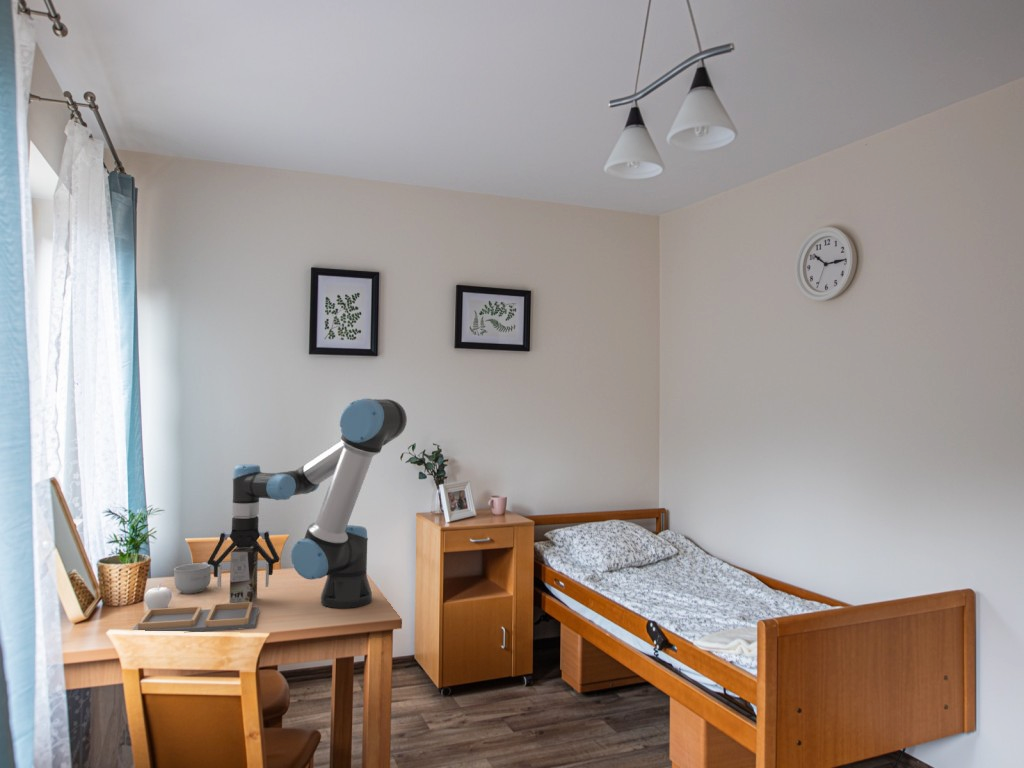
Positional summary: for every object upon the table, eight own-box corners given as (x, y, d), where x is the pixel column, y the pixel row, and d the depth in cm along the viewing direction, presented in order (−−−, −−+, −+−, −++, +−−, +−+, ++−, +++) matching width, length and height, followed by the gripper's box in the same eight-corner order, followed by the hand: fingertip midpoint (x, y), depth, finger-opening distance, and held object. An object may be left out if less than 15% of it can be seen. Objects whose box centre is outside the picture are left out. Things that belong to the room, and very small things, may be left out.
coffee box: (251, 606, 215) (252, 551, 215) (228, 606, 214) (229, 551, 215) (257, 597, 224) (258, 545, 224) (235, 598, 223) (237, 545, 224)
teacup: (193, 597, 224) (193, 571, 224) (165, 593, 227) (165, 568, 228) (224, 586, 237) (225, 561, 237) (197, 583, 241) (198, 558, 241)
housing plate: (258, 610, 211) (259, 601, 211) (254, 627, 195) (254, 618, 195) (145, 616, 203) (145, 607, 203) (130, 635, 187) (131, 626, 187)
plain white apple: (175, 609, 211) (176, 581, 211) (150, 614, 205) (151, 586, 205) (164, 605, 215) (165, 577, 215) (139, 610, 210) (140, 582, 210)
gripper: (289, 513, 227) (286, 581, 226) (202, 514, 220) (200, 585, 220) (288, 517, 219) (286, 588, 219) (199, 519, 213) (196, 591, 212)
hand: (243, 586), depth 219 cm, fingers open, 13 cm apart
